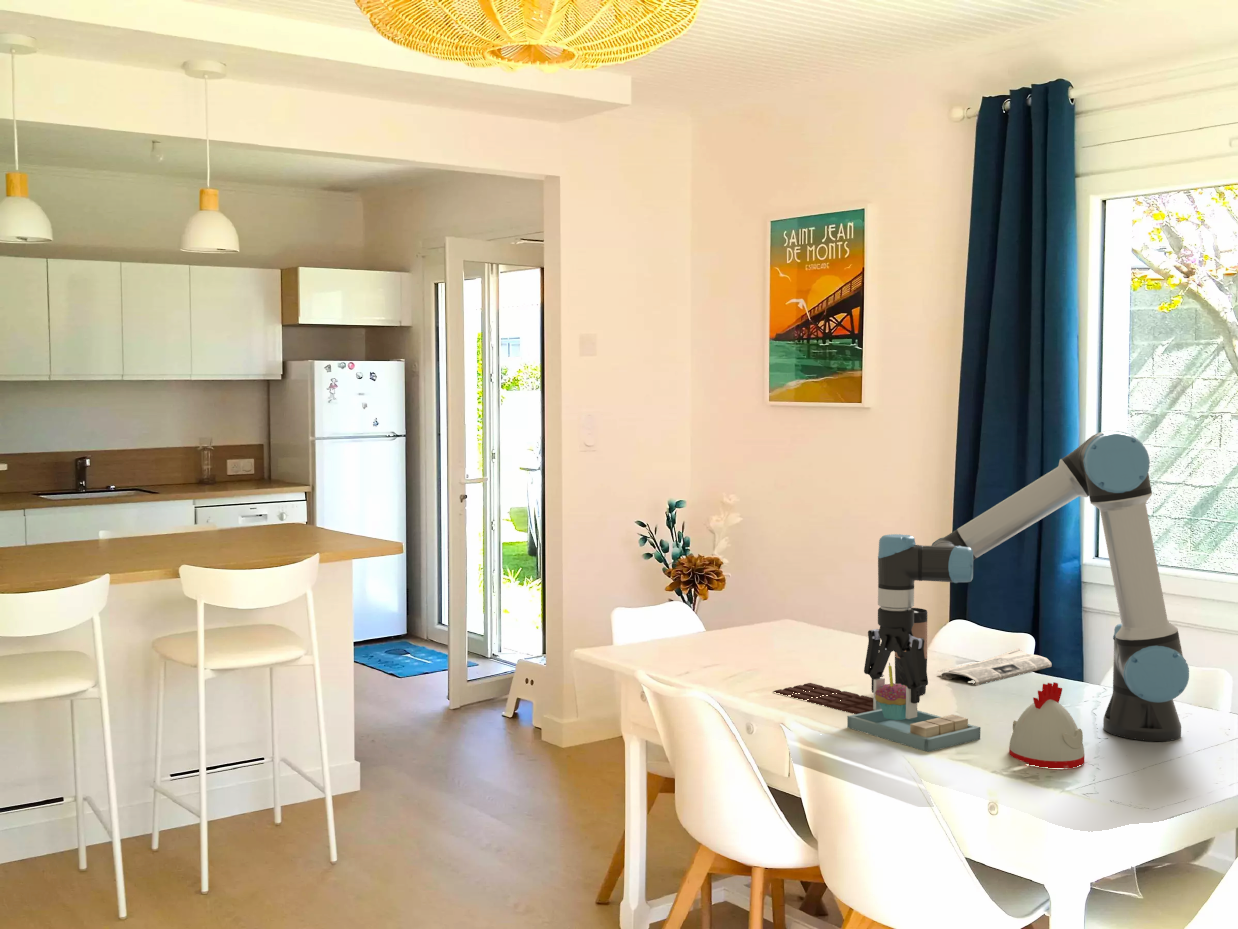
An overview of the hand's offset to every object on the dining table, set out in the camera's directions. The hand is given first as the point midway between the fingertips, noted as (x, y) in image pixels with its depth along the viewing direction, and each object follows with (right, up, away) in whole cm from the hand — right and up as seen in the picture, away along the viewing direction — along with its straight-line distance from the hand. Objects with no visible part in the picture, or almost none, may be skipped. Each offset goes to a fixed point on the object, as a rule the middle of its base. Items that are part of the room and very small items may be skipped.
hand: (895, 713), depth 253 cm
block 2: (+7, -4, -10) cm, 12 cm away
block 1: (+3, -4, -12) cm, 13 cm away
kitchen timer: (+25, -5, -20) cm, 32 cm away
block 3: (+10, -4, -7) cm, 13 cm away
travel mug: (+12, -2, +34) cm, 36 cm away
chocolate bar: (-8, -3, +27) cm, 29 cm away
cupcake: (0, -1, 0) cm, 1 cm away
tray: (+3, -4, -4) cm, 6 cm away
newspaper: (+39, -2, +57) cm, 69 cm away
